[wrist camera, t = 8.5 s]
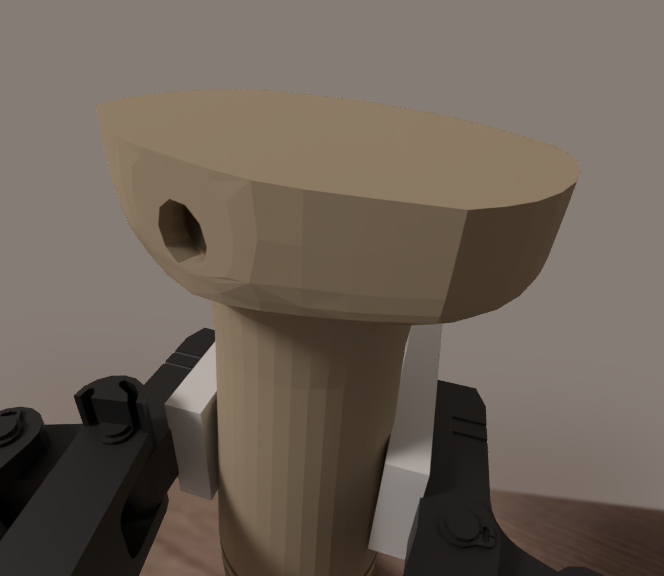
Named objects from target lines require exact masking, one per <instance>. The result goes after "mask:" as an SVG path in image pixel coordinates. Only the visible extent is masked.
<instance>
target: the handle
mask: <svg viewBox="0 0 664 576" xmlns="http://www.w3.org/2000/svg"><path fill="white" fill-rule="evenodd" d="M96 109H97V115H98V120H99V125H100V130H101V134H102V140H103V144H104V149H105V153H106V158H107V162H108V167H109V171H110V174H111V178H112V182H113V185H114V188H115V191H116V195H117V197H118V200H119V203H120V206H121V209H122V211H123V213H124V215H125V217H126V219H127V221H128V224H129V225H130V227H131V228H132V230H133V232H134V233H135V235H136V236H137V237H138V239H139V240H140V242H141V243H142V245H143V246H144V247H145V249H146V250H147V252H148V253H149V254H150V255H151V256H152V258H153V259H154V260H155V261H156V262H157V264H158V265H160V267H161V268H162V269H163V270H164V272H165V273H166V274H167V275H168V276H170V277H171V278H172V279H174V280H175V281H176V282H177V283H179V284H180V285H181V286H183V287H184V288H185V289H187V290H188V291H189V292H191V293H192V294H195V295H198V296H200V297H203V298H207V299H209V300H211V304H212V311H213V320H214V327H215V346H216V380H217V414H218V499H219V535H220V544H221V550H222V559H223V565H224V570H225V575H226V576H372V575H373V571H374V568H375V564H376V559H377V555H378V551H374V550H371V549H368V545H369V539H370V534H371V529H372V524H373V520H374V515H375V510H376V505H377V500H378V495H379V490H380V485H381V480H382V475H383V470H384V465H385V460H386V455H387V450H388V445H389V440H390V435H391V431H392V428H393V425H394V422H395V415H396V407H397V400H398V393H399V386H400V379H401V372H402V365H403V358H404V351H405V345H406V342H407V338H408V335H409V332H410V329H411V326H412V325H430V324H442V323H451V322H456V321H459V320H463V319H467V318H470V317H474V316H477V315H480V314H484V313H487V312H490V311H494V310H497V309H499V308H500V307H502V306H503V305H505V304H507V303H508V302H510V301H512V300H513V299H515V298H517V297H518V296H520V295H521V294H522V293H523V292H524V291H525V290H526V289H527V287H528V286H529V285H530V284H531V283H532V282H533V281H534V280H535V279H536V277H537V276H538V275H539V273H540V272H541V270H542V268H543V266H544V264H545V262H546V260H547V258H548V255H549V253H550V250H551V248H552V245H553V243H554V240H555V237H556V235H557V233H558V230H559V227H560V224H561V222H562V220H563V217H564V215H565V212H566V209H567V207H568V204H569V201H570V199H571V196H572V193H573V190H574V188H575V185H576V182H577V179H578V177H579V174H580V172H581V170H580V167H579V164H578V162H577V161H576V159H574V158H573V157H572V156H571V155H569V154H568V153H567V152H565V151H564V150H562V149H560V148H558V147H557V146H555V145H552V144H548V143H545V142H542V141H538V140H535V139H532V138H528V137H525V136H521V135H518V134H514V133H511V132H508V131H504V130H500V129H497V128H493V127H490V126H486V125H483V124H479V123H475V122H471V121H467V120H463V119H459V118H455V117H450V116H445V115H440V114H435V113H429V112H424V111H418V110H412V109H407V108H401V107H396V106H390V105H384V104H379V103H372V102H366V101H360V100H352V99H344V98H336V97H328V96H318V95H307V94H298V93H288V92H277V91H267V90H244V89H228V90H227V89H219V90H194V91H193V90H192V91H177V92H166V93H157V94H156V93H155V94H146V95H140V96H133V97H127V98H121V99H117V100H113V101H109V102H106V103H103V104H100V105H97V106H96Z"/></svg>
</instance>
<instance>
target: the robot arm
mask: <svg viewBox="0 0 664 576" xmlns="http://www.w3.org/2000/svg"><path fill="white" fill-rule="evenodd" d="M441 332H442V324H430V325H412V326H411V329H410V332H409V337H408V342H407V347H406V352H405V357H404V362H403V367H402V373H401V379H400V386H399V393H398V400H397V407H396V415H395V422H394V425H393V428H392V431H391V435H390V440H389V445H388V450H387V455H386V460H385V465H384V470H383V475H382V480H381V485H380V490H379V495H378V500H377V505H376V510H375V515H374V520H373V524H372V529H371V534H370V539H369V545H368V549H371V550H374V551H378V552H381V553H384V554H387V555H391V556H394V557H397V558H400V559H403V560H405V568H404V574H403V576H604V575H602V574H600V573H597V572H595V571H593V570H590V569H588V568H585V567H569V566H568V567H566V568H565V569H563V570H561V571H559V572H557V571H555V570H554V569H552V568H550V567H549V566H547V565H545V564H544V563H542V562H541V561H539V560H537V559H536V558H534V557H532V556H531V555H529V554H528V553H526V552H525V551H523V550H522V549H521V548H519V547H518V546H516V545H515V544H514V543H513V542H512V541H511V540H510V539H509V538H508V537H507V536H506V535H505V534H504V532H503V531H502V529H501V528H500V526H499V525H498V523H497V522H496V519H495V517H494V515H493V512H492V508H491V502H490V486H489V466H488V447H487V428H486V407H485V405H484V403H483V401H482V399H481V397H480V395H479V394H478V392H477V390H476V389H475V388H471V387H467V386H462V385H458V384H454V383H449V382H445V381H440V380H438V367H439V356H440V345H441ZM74 398H75V402H76V405H77V407H78V410H79V413H80V416H81V419H82V422H83V424H56V425H44V422H43V420H42V417H41V415H40V413H38V412H37V411H35V410H34V409H32V408H25V407H16V408H9V409H4V410H1V411H0V576H139V574H140V572H141V569H142V567H143V565H144V562H145V560H146V558H147V555H148V553H149V551H150V548H151V546H152V544H153V541H154V539H155V537H156V534H157V532H158V530H159V527H160V525H161V523H162V520H163V518H164V516H165V513H166V511H167V506H168V502H169V499H168V494H167V491H168V490H169V488H170V487H171V485H172V484H173V482H174V481H175V479H176V478H177V476H178V479H179V484H180V489H181V491H183V492H187V493H190V494H193V495H196V496H200V497H203V498H206V499H209V500H212V499H213V497H214V495H215V493H216V491H217V490H218V414H217V380H216V346H215V330H212V329H207V328H203V329H202V330H200V331H198V332H196V333H194V334H193V335H191V336H189V337H188V338H186V339H185V341H184V342H183V343H182V344H181V345H180V346H179V347H178V348H177V350H176V351H175V353H173V354H172V355H171V356H170V357H169V358H168V359H167V360H166V363H165V364H163V365H162V366H161V367H160V368H159V369H158V370H157V371H156V372H155V373H154V375H153V376H152V377H151V378H150V379H149V380H148V381H147V382H146V383H145V385H143V384H142V383H141V382H139V381H138V380H137V379H136V378H132V377H128V376H110V377H105V378H102V379H98V380H96V381H94V382H92V383H90V384H88V385H86V386H84V387H83V388H82V389H81V390H80V391H78V393H76V394H75V395H74ZM405 556H406V559H405Z"/></svg>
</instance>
